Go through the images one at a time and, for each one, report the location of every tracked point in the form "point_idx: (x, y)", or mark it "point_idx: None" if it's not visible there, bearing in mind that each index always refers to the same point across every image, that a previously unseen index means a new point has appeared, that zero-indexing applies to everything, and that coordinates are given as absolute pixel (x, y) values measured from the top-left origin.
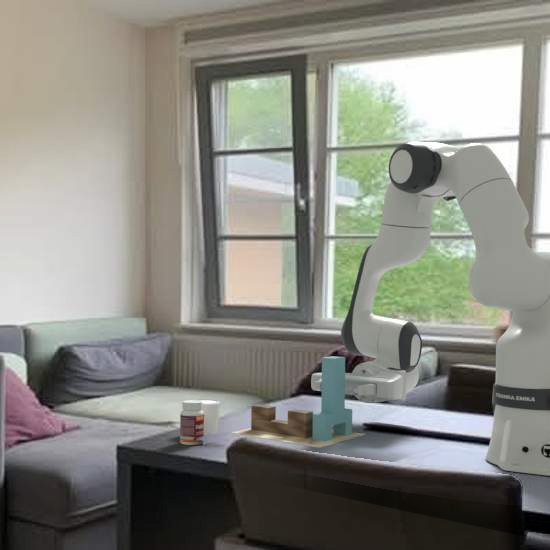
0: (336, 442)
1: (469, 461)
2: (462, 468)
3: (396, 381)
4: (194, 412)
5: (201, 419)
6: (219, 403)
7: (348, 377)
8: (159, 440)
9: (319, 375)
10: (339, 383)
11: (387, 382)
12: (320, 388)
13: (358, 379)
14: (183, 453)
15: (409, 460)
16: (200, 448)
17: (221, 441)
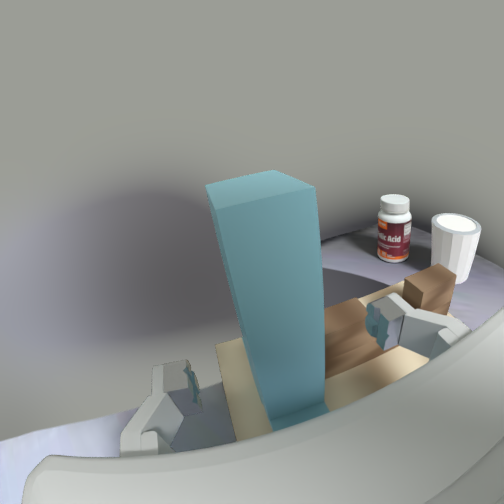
0: (226, 392)
1: (11, 483)
2: (13, 438)
3: (24, 499)
4: (380, 212)
5: (382, 226)
6: (449, 233)
7: (349, 412)
8: (414, 238)
9: (494, 315)
10: (238, 314)
11: (50, 455)
12: (365, 320)
13: (249, 438)
14: (337, 244)
15: (79, 438)
16: (357, 257)
17: (396, 279)
